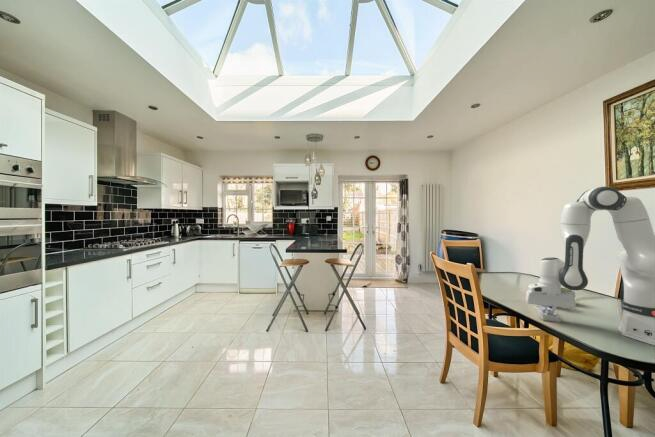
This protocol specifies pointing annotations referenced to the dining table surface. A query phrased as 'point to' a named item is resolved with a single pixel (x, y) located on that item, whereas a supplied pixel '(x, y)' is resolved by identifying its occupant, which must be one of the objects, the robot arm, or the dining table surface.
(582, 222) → the robot arm
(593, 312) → the dining table surface
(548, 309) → the key slate
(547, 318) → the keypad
